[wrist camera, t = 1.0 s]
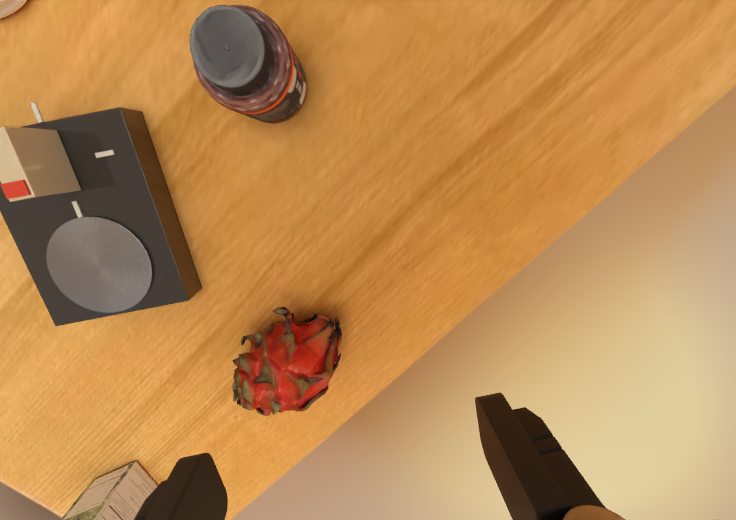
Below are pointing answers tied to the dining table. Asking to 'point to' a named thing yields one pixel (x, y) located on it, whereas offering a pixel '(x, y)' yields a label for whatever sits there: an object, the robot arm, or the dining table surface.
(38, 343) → the dining table surface
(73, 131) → the hob
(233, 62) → the supplement bottle
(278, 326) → the dragon fruit
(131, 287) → the burner
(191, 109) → the dining table surface
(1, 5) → the white short ridged cylinder
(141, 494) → the syrup box
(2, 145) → the knob
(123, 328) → the dining table surface
